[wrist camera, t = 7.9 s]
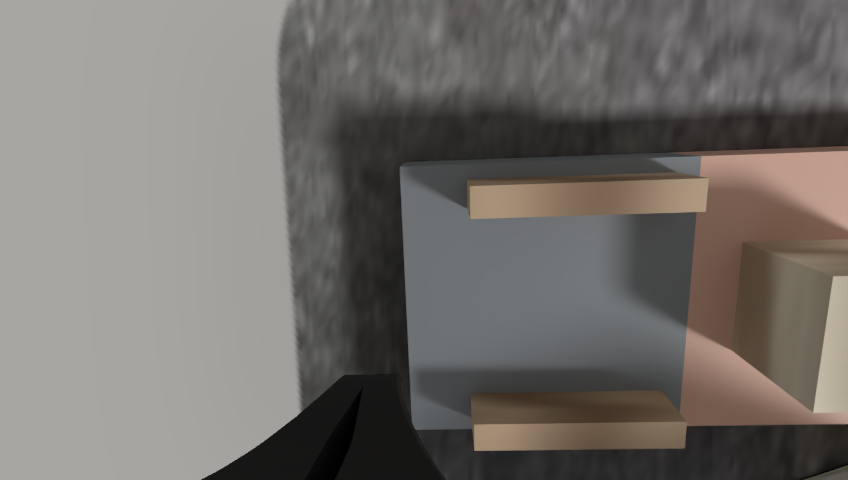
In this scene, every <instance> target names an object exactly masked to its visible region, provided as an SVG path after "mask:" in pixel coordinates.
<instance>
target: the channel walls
mask: <svg viewBox="0 0 848 480" xmlns="http://www.w3.org/2000/svg"><path fill="white" fill-rule="evenodd" d="M466 181H467V210H468V213H469V216H470V219H488V218H521V217H553V216H585V215H618V214H650V213H682V212H706V204H707V193H708V181H709V178H705V177H700V176H695V175H689V174H684V173H679V172H668V173H639V174H609V175H580V176H551V177H522V178H493V179H466ZM470 395H471V423H472V433H473V442H474V451H512V450H598V449H684V448H685V440H686V429H687V421H686V420H685V419H684V417H683V416H682V415H681V414H680V413H679V411H678V410H677V409H676V408H675V407H674V405H673V404H672V403H671V402H670V401H669V399H668V398H667V397H666V396H665V395H664V393H663V392H662V391H661V390H647V391H586V392H525V393H470Z"/></svg>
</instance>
